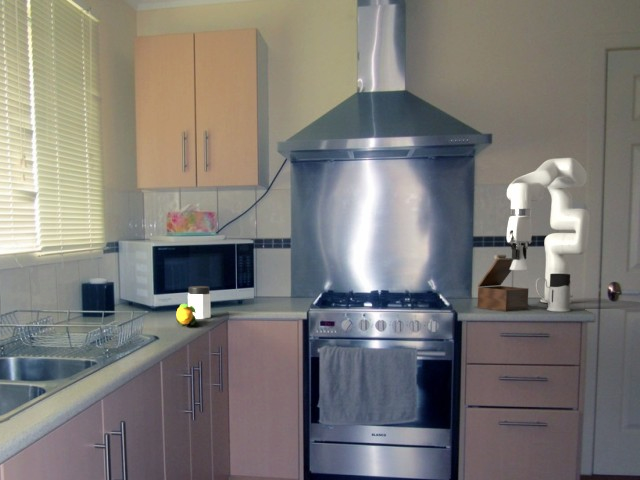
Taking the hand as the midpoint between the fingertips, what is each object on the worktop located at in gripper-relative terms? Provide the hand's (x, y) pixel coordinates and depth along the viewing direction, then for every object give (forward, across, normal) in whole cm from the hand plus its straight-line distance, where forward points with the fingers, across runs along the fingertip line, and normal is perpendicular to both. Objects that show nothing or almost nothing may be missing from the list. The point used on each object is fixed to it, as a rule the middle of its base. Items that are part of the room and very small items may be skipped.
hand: (519, 258), depth 267 cm
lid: (+7, -4, -12) cm, 14 cm away
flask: (+5, 0, 0) cm, 5 cm away
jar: (+20, +119, -54) cm, 132 cm away
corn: (+20, +132, -38) cm, 139 cm away
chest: (+22, -3, -10) cm, 24 cm away
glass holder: (+22, -15, +5) cm, 27 cm away
